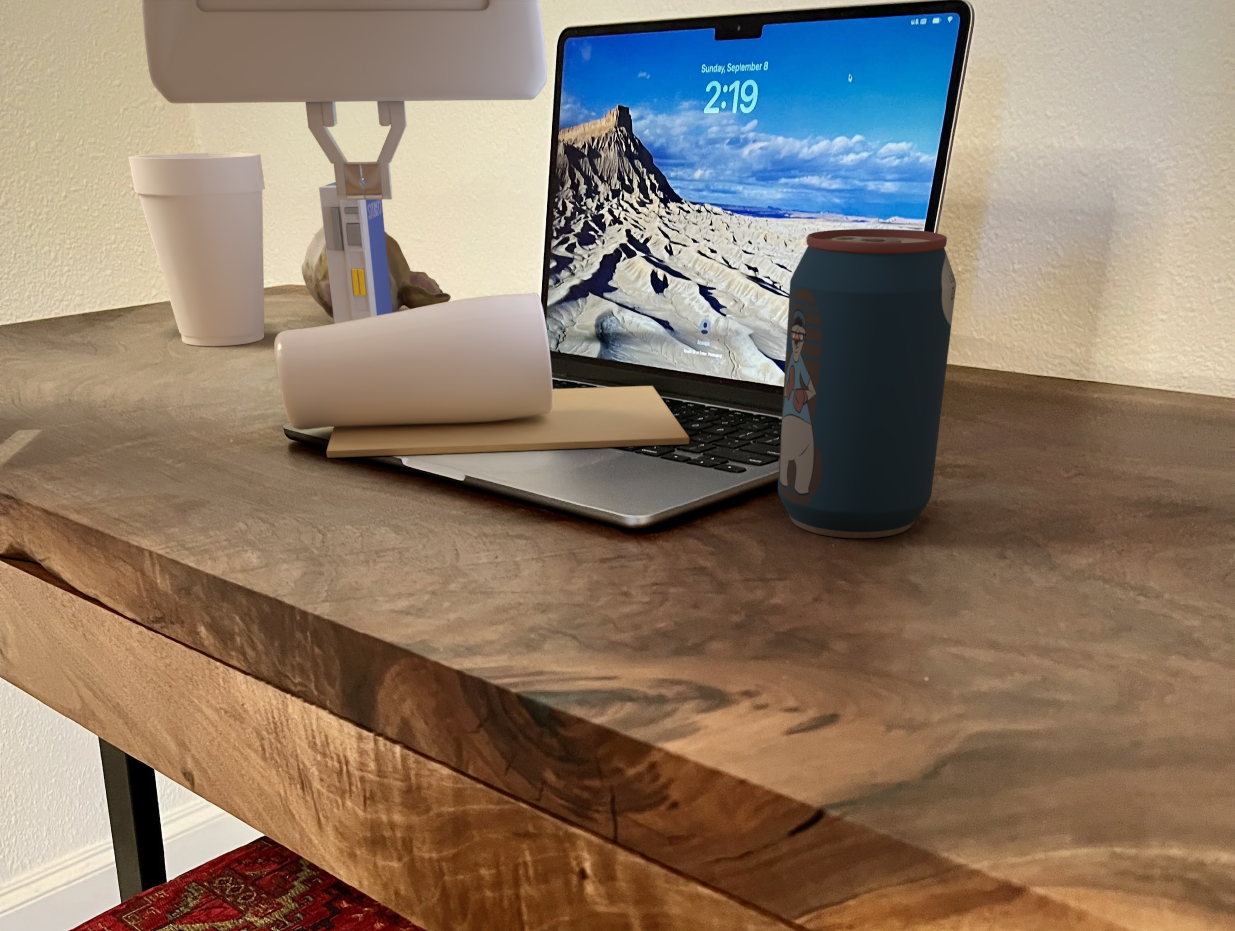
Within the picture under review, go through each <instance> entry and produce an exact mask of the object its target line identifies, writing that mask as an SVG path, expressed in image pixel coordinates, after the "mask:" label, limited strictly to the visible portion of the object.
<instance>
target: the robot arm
mask: <svg viewBox="0 0 1235 931" xmlns="http://www.w3.org/2000/svg"><path fill="white" fill-rule="evenodd" d="M141 3H142V6H141V7H142V21H143V22H142V23H143V35H144V45H145V51H146V53H145V54H146V59H147V60H146V61H147V67H148V72H149V73H148V74H149V77H150V80H151V83H152V85H153V86H154V88H155V89H156V90H157V91H158V92H159V93H160V95H161V96H162V97H163V98H164V99H165V100H166V101H167V102H168V103H169V104H241V103H242V104H246V103H247V104H248V103H249V104H250V103H251V104H252V103H255V104H256V103H257V104H258V103H259V104H260V103H305V110H306V111H305V112H306V120H307V127H308V129H309V132H310V133H311V134H312V136H313V137H314V139H315V141H316V142H317V143H318V145H319V146H320V148H321V150H322V151H323V153H324V154H325V156H326V158H327V159H328V161H329V162H330V164H331V165H332V164H333V172H334V180H335V182H336V190H337V197H338V200H382V201H384V200H393V186H392V175H391V163H392V162H393V160H394V157H395V155H396V152H397V149H398V147H399V145H400V143H401V140H402V138H403V135H404V133H405V130H406V129H407V125H408V124H407V112H406V102H429V101H430V102H436V101H438V102H439V101H440V102H441V101H443V102H445V101H532V100H534V99H536V98H537V97H538V95H539V94H540V93H541V91H542V90H543V89H544V87H545V85H546V83H547V80H548V72H547V71H548V70H547V69H548V66H547V55H546V54H547V53H546V43H545V34H544V33H545V32H544V26H543V19H542V18H543V17H542V11H541V5H540V0H141ZM340 102H342V103H343V102H345V103H348V102H352V103H353V102H376V105H377V113H378V123H379V125H380V126H381V127H389V126H390V128H389V131H388V133H387V135H386V138H385V140H384V143H383V144H382V148H381V150H380V153H379V155H378V157H377V160H376V161H348V159H347V158H346V156H345V154H344V153H343V151H342V149H341V148H340V146H339V144H338V143H337V141H336V140H335V138H334V136H333V135H332V133H331V131H330V130H329V128H333V127H335V126H337V125H338V117H337V116H338V115H337V107H336V103H340ZM362 180H365V182H366V183H365V184H364V183H363V181H362Z"/></svg>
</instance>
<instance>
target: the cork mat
mask: <svg viewBox="0 0 1235 931" xmlns="http://www.w3.org/2000/svg"><path fill="white" fill-rule="evenodd" d="M679 445H690V437H689V435H688V434H687V432H686V431H685V429H684V428H683V427H682V426H681V424H680V422H679V421H678V420H677V418H676V417H675V416H674V414H673V412H671V410H670V408H669V407H668V406H667V404H666V403H665V402H664V400H663V398H662V397H661V396H660V394H659V393H658V391H657V390H656V389H655V387H654V386H653V385H638V386H637V385H635V386H633V385H632V386H605V387H604V386H603V387H575V388H553V406H552V411H551V413H549V414H544V415H538V416H532V417H526V418H520V419H512V420H504V421H494V422H482V423H457V424H412V425H374V426H343V427H332V430H331V435H330V438H329V442H328V445H327V449H326V457H327V459H332V458H336V459H337V458H356V457H357V458H359V457H360V458H361V457H362V458H363V457H384V456H385V457H386V456H388V457H389V456H410V455H412V456H413V455H414V456H416V455H438V454H439V455H442V454H467V453H493V452H517V451H518V452H519V451H546V450H570V449H572V450H573V449H599V448H625V447H650V446H651V447H653V446H679Z"/></svg>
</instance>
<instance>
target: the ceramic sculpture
mask: <svg viewBox="0 0 1235 931" xmlns="http://www.w3.org/2000/svg"><path fill="white" fill-rule="evenodd" d="M385 240H386V251H387V262H388V273H389V284H390V295H391V306H392V313H393V312H398V311H400V309H401V308H402V307H404V306H405V307H406V308H407V309H413V308H418V307H423V306H429V305H434V304H439V303H444V302H449V301H451V298H452V295H450V294H449V293H447V292H444V291H443V290H442V289H441V288H440V285H439V283H437V281H436V279H433V278H432V277H430V276H429V275H428V274H427V273H426V272H425V271H413V270H411V268H410V265H409V263H408V261H407V259H406V257H405V255H404V253H403V251H402V248H401V246H400V244H399V243H398V241H397V240H396V239H395V238H394V237H392V236H391V235H389V234H388V232H387V231H385ZM301 275H302V278H303V281H304V284H305V286H306V288H307V290H308V292H309V294H310V296H311V298H313V300H314V301H315V302H316V303H317V304H318V305H319V306H320V307H321V308H323V310H324V311H325V313H326V314H327V315H328V316H329V317H330V318H333V319H334V315H333V307H332V298H331V289H330V280H329V271H328V263H327V254H326V245H325V236H324V228H323V226H322V227H320V228H319V229H318V231H316V232H315V234H314V235H313V237H312V239H311V241H310V242H309V244H308V246H307V249H306V252H305V256H304V260H303V262H302V264H301Z"/></svg>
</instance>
